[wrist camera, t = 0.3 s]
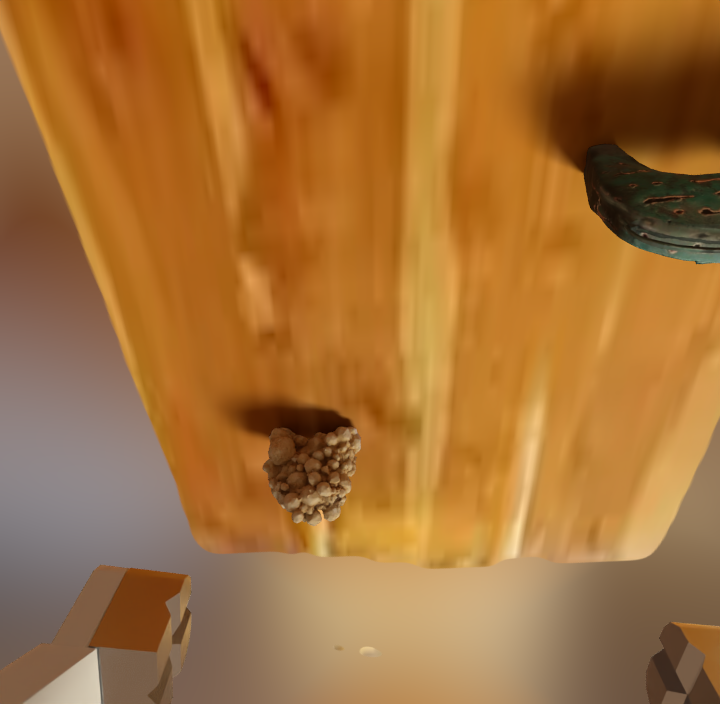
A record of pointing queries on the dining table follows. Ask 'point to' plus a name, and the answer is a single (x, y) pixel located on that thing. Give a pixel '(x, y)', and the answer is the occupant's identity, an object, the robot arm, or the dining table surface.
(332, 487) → the mineral formation
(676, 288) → the dining table surface
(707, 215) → the ceramic cat
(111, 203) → the dining table surface
